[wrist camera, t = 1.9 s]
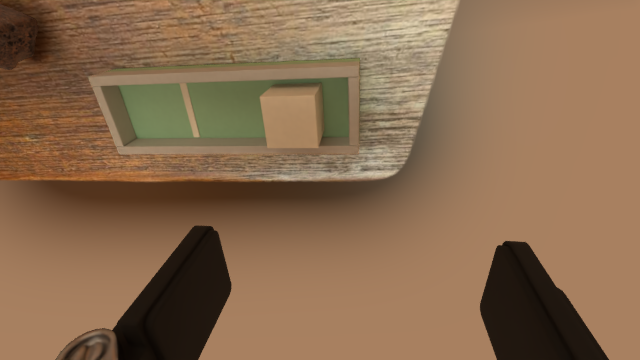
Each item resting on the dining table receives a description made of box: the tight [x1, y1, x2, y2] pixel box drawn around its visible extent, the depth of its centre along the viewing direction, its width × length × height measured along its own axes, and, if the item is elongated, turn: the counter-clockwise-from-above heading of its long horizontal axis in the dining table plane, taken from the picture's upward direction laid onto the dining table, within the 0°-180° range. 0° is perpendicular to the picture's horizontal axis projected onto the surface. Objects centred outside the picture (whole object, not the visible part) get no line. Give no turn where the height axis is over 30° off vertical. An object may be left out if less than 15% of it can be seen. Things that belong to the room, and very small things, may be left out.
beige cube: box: [260, 83, 324, 148], centre depth 25 cm, size 4×4×4 cm
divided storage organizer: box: [88, 58, 360, 154], centre depth 27 cm, size 22×7×4 cm, turn 93°
